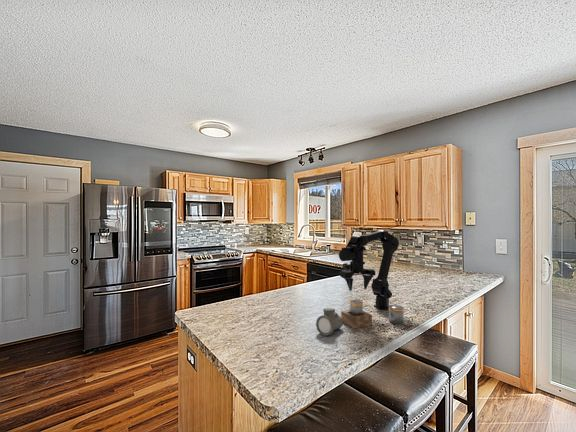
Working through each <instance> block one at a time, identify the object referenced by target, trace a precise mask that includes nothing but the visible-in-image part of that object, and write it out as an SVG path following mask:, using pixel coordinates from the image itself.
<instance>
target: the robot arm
mask: <svg viewBox="0 0 576 432" xmlns="http://www.w3.org/2000/svg"><path fill="white" fill-rule="evenodd" d="M377 240H379V242H381V247H382V250H383V254H382V258H381V262H380V266H379V269H378V274H377V277H376V278H374V276H376V270H375V269H373V268H370V267H369V268H364V265H365V264H366V262H365V261H364V252H366V251H367V248H366V246H367V245H368V243H370V242H373V241H377ZM399 246H400V241H399V239H398V238H397V237H396V236H395V235H392V234H391V233H389V232H388V231H387V230H384V229H383V230H381V229H380V230H376V231H372V232H370V233H366V234H354V235H351V236H350V239H349V240H348V243H347V244H346V246H345V247H341V250H339V253H338V257H339V258H338V259H339V260H340V261H341V262H345V263H343V264H342V270H341V271H339V277H340V278H341V279H344V280H345V282H346V284H347V287H348V290H349V291H350V292H352V290H353V285H354V284H353V283H354V278H353V277H354V276H361V275H362V278H363V289H364V290H367V288H368V286H369V283H370V282H371V281H372V283H371V285H370V286H371V290H372V294H373V295H374V296H375V304H374V305H373V306H374V308H377V309H379V310H389V305H390V299H391V298H392V297H393V292H392V291H391V290H390V289H389V281H388V276H389V271H390V267H391V264H392V260H393V255H394V254H395V252H396V251H398V248H399ZM349 261H350V263H349V264H348V263H347V262H349ZM372 278H373V279H372Z"/></svg>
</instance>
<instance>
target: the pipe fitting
mask: <svg viewBox="0 0 576 432" xmlns="http://www.w3.org/2000/svg"><path fill="white" fill-rule="evenodd" d="M322 312H323V315H320V316H318V317H317V319H316V320H315V321H316V322H315V327H316V330H317V332H318V333H319V334H320V335H322V336H324V337H327V336H330V335H331V334H333V333H334V331H336V330H338V329H341V328H342V327H343V323H344V322H343V320H342V318H341V315H339V314H338V312H337V311H336V308H333V307H324V308H322Z"/></svg>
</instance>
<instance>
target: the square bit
mask: <svg viewBox="0 0 576 432" xmlns="http://www.w3.org/2000/svg"><path fill="white" fill-rule="evenodd" d="M363 305H364V302H363V301H361V300H359V299H353V300H349V307H350V308H349V310H350V314H352V315H354V316H359V315H363V311H364V309H363V307H364V306H363Z"/></svg>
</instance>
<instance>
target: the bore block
mask: <svg viewBox="0 0 576 432" xmlns="http://www.w3.org/2000/svg"><path fill="white" fill-rule="evenodd" d="M340 317H341V318H342V320H343V323H344V324H346V325H348V326H349V327H351V328H353V329H359V328H363V327H368V326H373V315H372V314H370V313H369V312H366V311H364V310H363V315H359V316H354V315H352V314H350V309H348V310H341V313H340Z"/></svg>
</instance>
